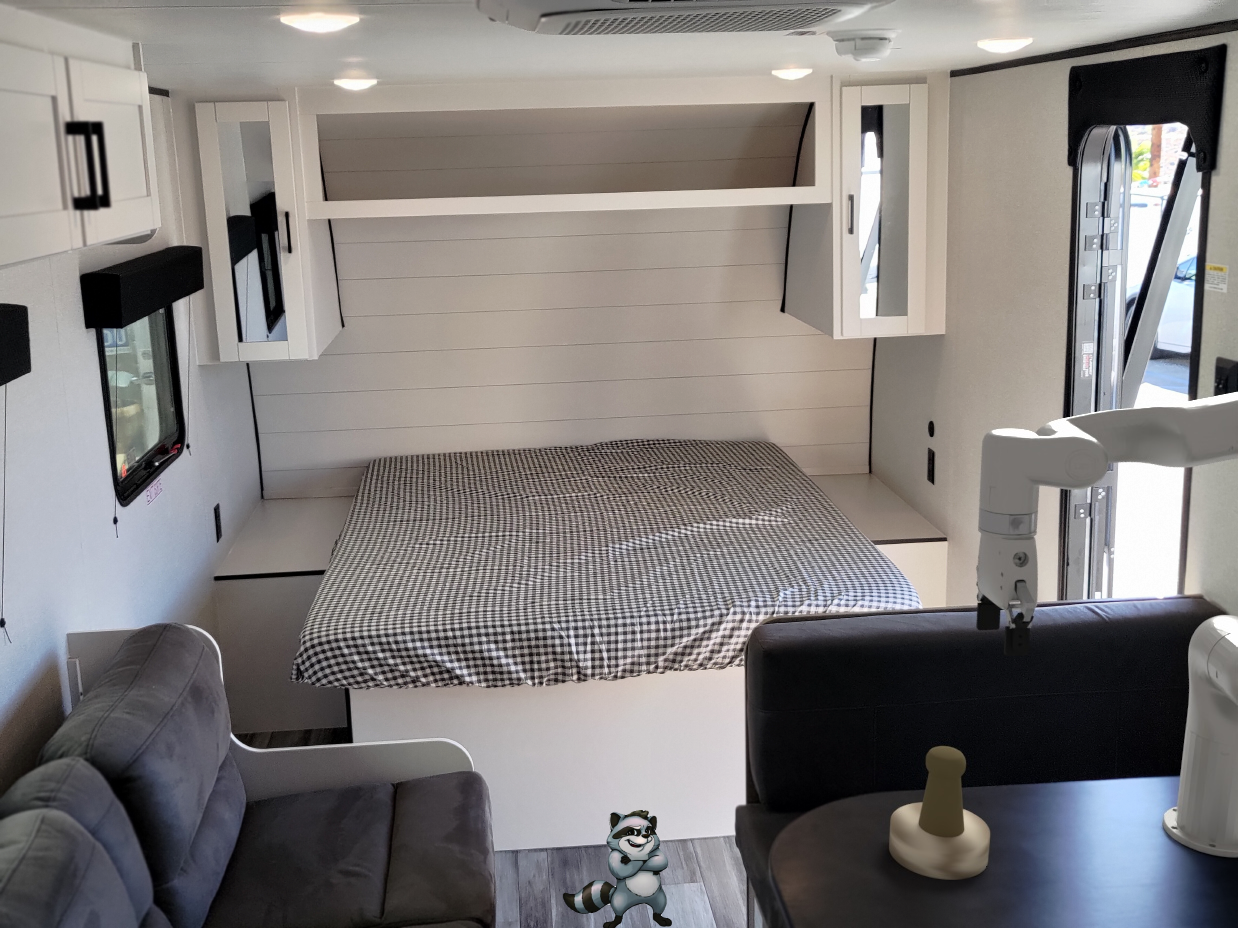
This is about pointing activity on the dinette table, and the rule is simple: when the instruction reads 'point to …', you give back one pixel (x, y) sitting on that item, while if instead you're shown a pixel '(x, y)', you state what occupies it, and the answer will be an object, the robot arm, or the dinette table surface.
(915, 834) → the disc
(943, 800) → the olive pawn
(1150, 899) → the dinette table surface
